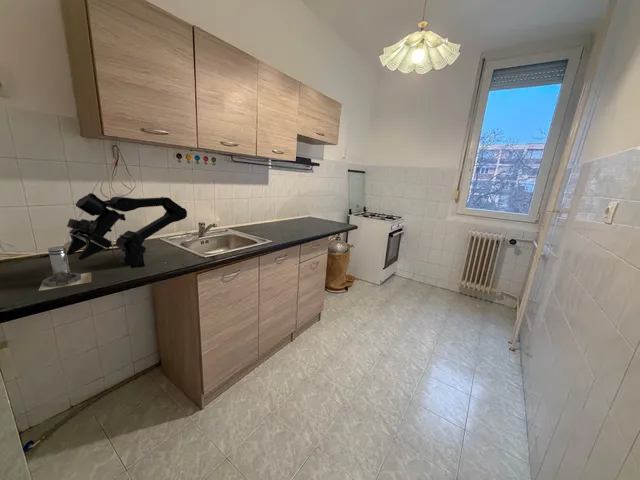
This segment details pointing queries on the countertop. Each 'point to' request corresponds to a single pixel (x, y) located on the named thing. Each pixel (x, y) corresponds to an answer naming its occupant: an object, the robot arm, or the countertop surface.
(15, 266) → the countertop surface
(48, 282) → the ring
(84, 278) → the board
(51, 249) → the clear glass jar
